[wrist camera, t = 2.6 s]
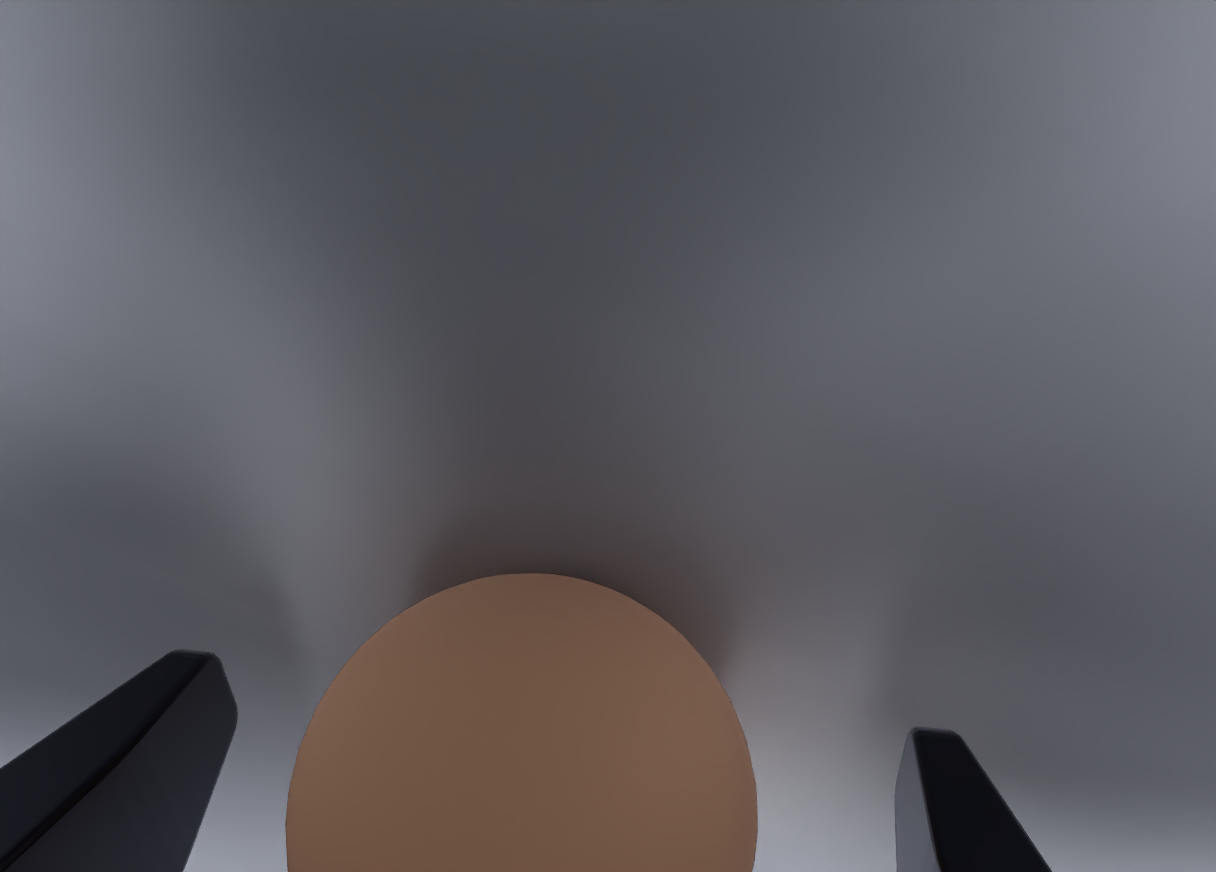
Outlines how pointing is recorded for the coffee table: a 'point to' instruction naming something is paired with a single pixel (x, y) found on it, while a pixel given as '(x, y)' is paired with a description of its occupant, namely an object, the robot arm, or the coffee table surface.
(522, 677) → the bead
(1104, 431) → the coffee table surface
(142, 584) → the coffee table surface
